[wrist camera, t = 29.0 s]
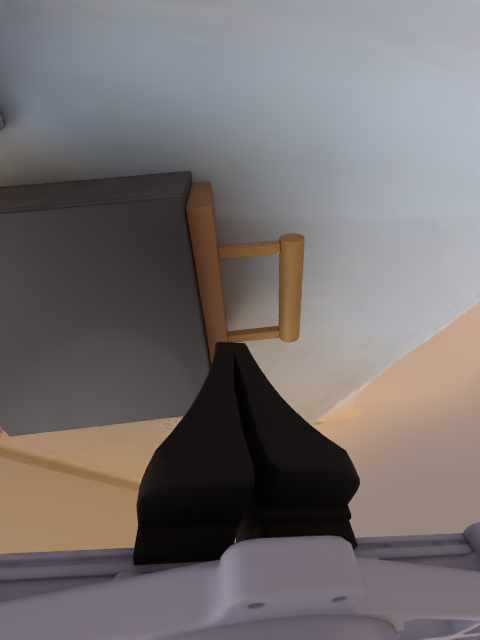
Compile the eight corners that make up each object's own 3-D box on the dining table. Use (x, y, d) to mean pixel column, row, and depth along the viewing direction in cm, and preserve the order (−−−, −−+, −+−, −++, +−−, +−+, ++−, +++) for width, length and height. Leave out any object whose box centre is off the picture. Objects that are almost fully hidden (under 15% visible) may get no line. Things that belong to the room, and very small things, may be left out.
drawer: (289, 174, 18) (321, 194, 13) (285, 332, 25) (305, 386, 20) (4, 199, 18) (-79, 231, 13) (79, 354, 24) (45, 416, 19)
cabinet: (190, 170, 18) (180, 196, 12) (214, 339, 26) (217, 412, 19) (-30, 189, 18) (-166, 227, 11) (60, 356, 25) (8, 437, 19)
